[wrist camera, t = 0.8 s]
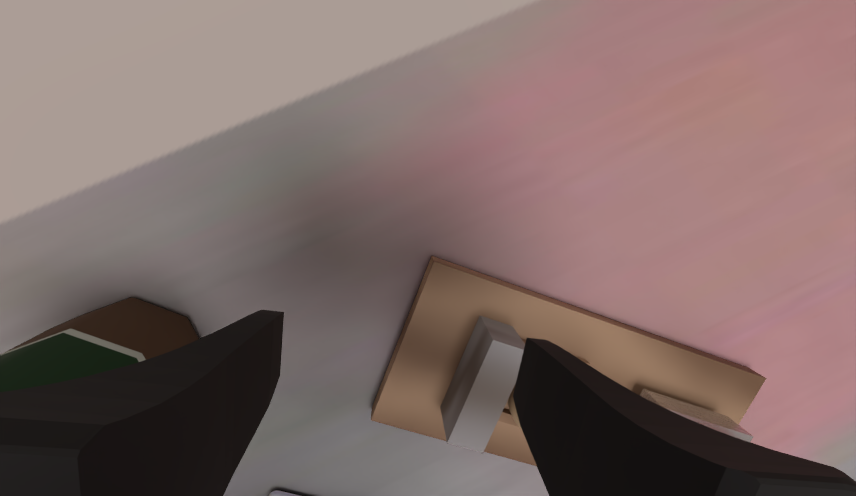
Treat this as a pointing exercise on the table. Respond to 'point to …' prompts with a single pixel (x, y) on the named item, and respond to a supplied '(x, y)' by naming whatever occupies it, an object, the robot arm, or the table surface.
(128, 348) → the beer bottle
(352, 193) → the table surface
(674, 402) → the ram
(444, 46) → the table surface
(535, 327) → the wooden puzzle board
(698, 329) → the table surface
